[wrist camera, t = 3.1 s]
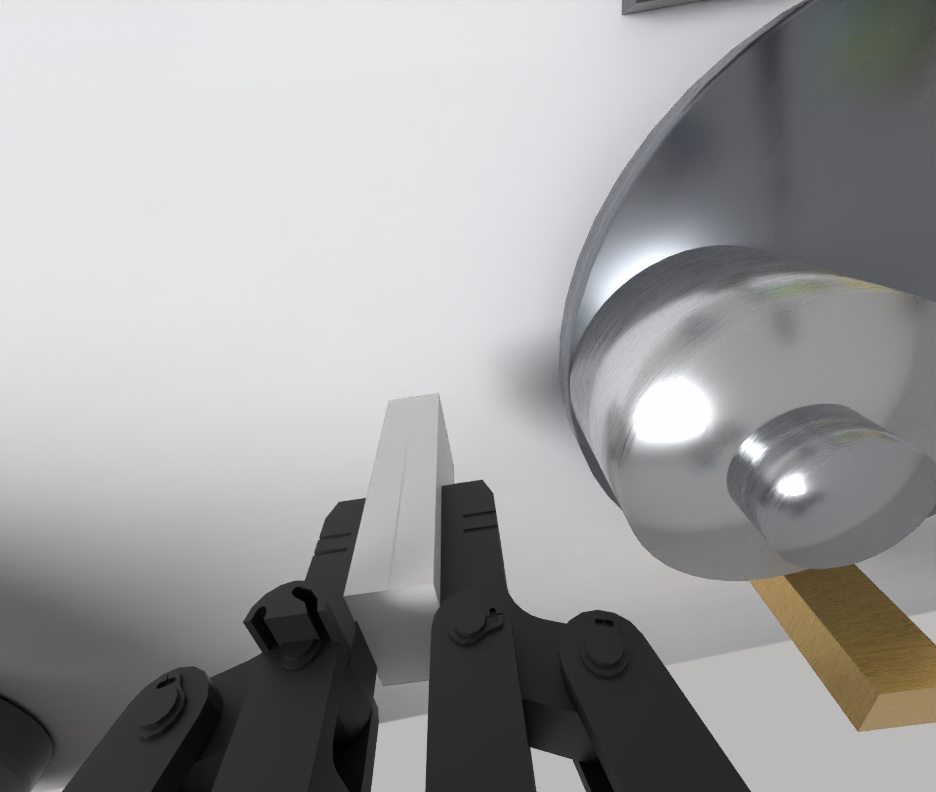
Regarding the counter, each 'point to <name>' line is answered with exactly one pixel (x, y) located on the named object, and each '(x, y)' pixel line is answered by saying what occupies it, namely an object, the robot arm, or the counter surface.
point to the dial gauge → (649, 4)
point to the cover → (760, 412)
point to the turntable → (798, 256)
